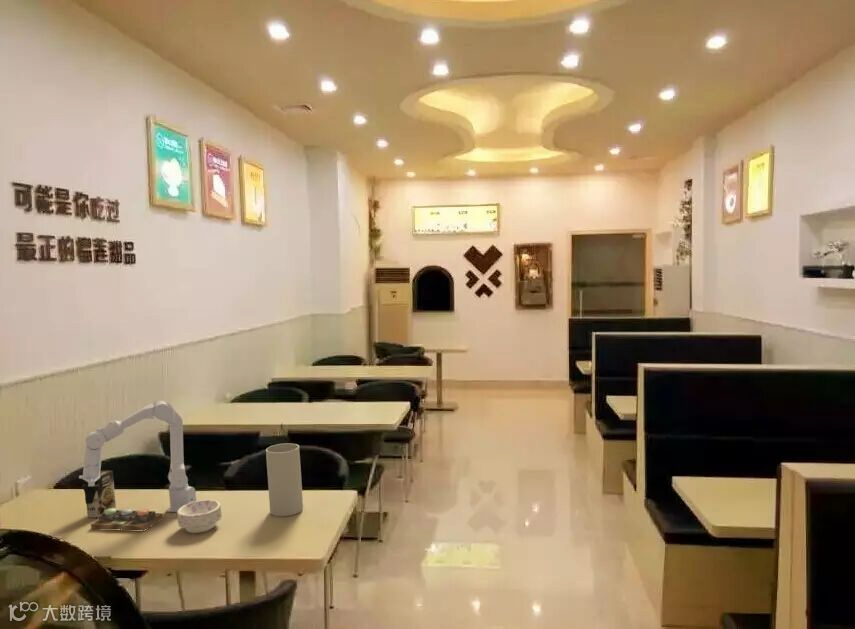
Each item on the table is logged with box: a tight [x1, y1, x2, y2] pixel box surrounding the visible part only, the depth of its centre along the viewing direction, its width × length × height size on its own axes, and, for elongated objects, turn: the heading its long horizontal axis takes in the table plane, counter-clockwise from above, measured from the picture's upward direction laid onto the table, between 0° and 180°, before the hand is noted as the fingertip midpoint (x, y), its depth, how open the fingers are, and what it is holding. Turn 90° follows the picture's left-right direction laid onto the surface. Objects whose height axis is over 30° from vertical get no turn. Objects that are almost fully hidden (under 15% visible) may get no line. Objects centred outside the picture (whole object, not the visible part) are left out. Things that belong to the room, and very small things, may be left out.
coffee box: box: [86, 470, 117, 519], centre depth 258 cm, size 9×6×16 cm
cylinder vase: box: [265, 442, 304, 518], centre depth 250 cm, size 12×12×25 cm
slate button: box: [121, 508, 134, 516], centre depth 246 cm, size 4×4×2 cm
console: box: [90, 509, 164, 532], centre depth 246 cm, size 22×12×4 cm, turn 79°
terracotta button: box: [137, 508, 150, 517], centre depth 244 cm, size 4×4×2 cm
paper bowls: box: [176, 499, 223, 534], centre depth 239 cm, size 15×15×8 cm
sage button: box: [104, 508, 117, 516], centre depth 247 cm, size 4×4×2 cm
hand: (88, 500), depth 243 cm, fingers open, 7 cm apart
